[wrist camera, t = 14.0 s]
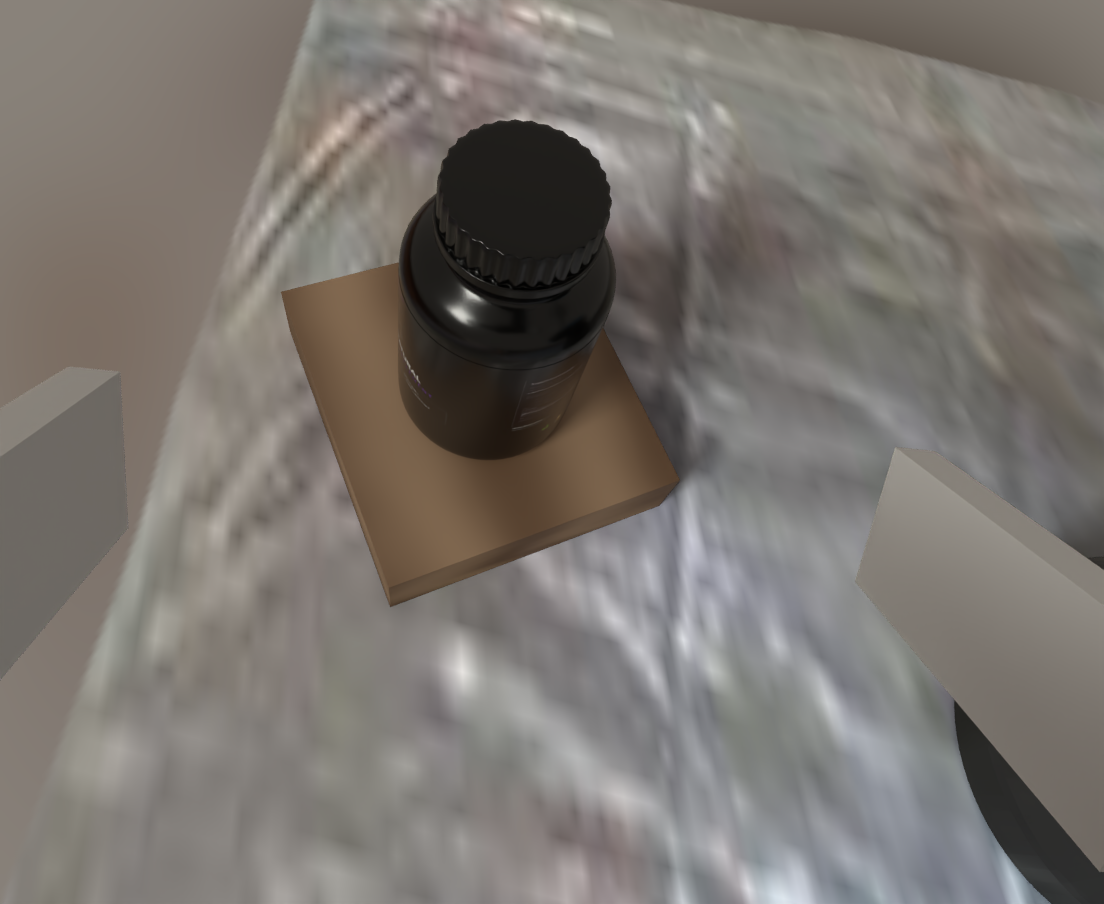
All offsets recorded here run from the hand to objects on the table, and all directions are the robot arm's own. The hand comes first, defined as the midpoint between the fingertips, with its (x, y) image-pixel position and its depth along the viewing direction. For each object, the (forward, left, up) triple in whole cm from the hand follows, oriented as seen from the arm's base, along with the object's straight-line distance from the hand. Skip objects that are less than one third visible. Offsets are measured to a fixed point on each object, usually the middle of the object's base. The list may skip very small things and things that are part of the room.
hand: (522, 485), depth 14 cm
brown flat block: (-4, -10, -19) cm, 22 cm away
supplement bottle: (-5, -9, -16) cm, 20 cm away
